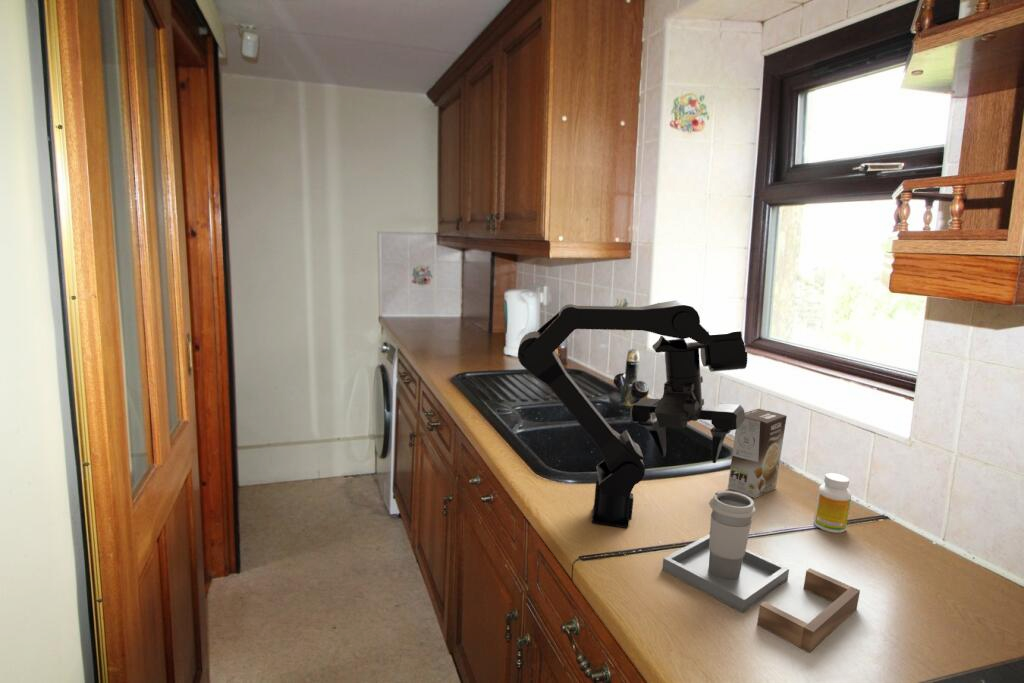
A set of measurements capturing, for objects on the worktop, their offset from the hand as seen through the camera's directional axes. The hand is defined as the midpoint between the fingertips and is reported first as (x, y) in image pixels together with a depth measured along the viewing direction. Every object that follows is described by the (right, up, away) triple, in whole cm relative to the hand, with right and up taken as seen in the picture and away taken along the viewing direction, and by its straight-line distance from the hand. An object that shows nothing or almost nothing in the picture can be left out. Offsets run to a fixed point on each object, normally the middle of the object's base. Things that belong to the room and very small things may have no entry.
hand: (688, 459), depth 112 cm
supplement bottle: (+27, -13, +5) cm, 31 cm away
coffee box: (+19, -10, +20) cm, 29 cm away
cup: (+2, -15, -14) cm, 20 cm away
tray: (+2, -15, -14) cm, 21 cm away
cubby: (+10, -18, -23) cm, 31 cm away
